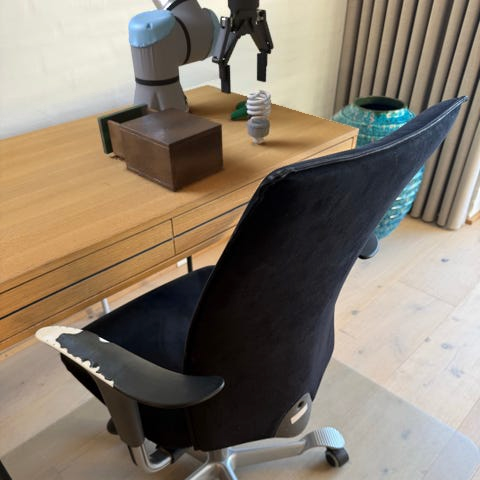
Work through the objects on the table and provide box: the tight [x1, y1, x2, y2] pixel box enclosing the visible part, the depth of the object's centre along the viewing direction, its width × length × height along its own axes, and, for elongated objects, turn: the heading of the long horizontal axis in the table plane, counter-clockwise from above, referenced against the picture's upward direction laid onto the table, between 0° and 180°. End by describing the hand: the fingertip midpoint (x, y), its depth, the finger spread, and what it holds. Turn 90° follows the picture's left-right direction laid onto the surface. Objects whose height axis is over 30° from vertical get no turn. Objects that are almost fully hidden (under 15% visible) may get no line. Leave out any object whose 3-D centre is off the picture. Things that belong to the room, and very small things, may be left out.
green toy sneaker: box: [229, 99, 250, 121], centre depth 128 cm, size 9×4×6 cm
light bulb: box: [246, 89, 272, 145], centre depth 110 cm, size 6×6×12 cm
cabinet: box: [119, 107, 224, 193], centre depth 101 cm, size 16×14×10 cm
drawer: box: [96, 103, 158, 160], centre depth 107 cm, size 20×13×8 cm
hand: (244, 86), depth 124 cm, fingers open, 13 cm apart
